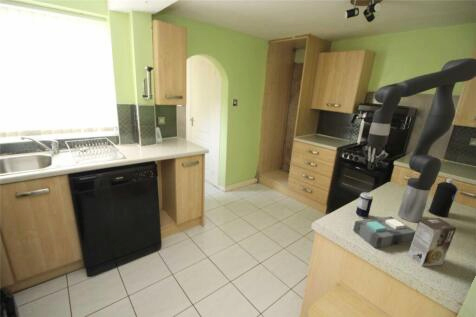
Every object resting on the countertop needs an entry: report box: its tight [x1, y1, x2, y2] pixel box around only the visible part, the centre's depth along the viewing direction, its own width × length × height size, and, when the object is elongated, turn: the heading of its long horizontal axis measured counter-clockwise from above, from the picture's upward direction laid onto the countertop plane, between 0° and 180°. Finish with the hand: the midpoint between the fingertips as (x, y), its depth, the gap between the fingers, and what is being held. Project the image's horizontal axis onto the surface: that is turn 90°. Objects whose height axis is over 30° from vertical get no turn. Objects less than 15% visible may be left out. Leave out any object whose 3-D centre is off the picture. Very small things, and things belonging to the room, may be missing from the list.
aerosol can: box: [427, 178, 459, 218], centre depth 118 cm, size 8×8×20 cm
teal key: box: [366, 221, 386, 232], centre depth 96 cm, size 5×5×4 cm
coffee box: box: [407, 217, 457, 267], centre depth 83 cm, size 9×6×16 cm
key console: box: [352, 216, 416, 249], centre depth 98 cm, size 21×12×5 cm, turn 106°
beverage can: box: [355, 191, 374, 219], centre depth 113 cm, size 6×6×12 cm
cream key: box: [385, 218, 406, 229], centre depth 99 cm, size 5×5×4 cm
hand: (370, 169), depth 106 cm, fingers closed
